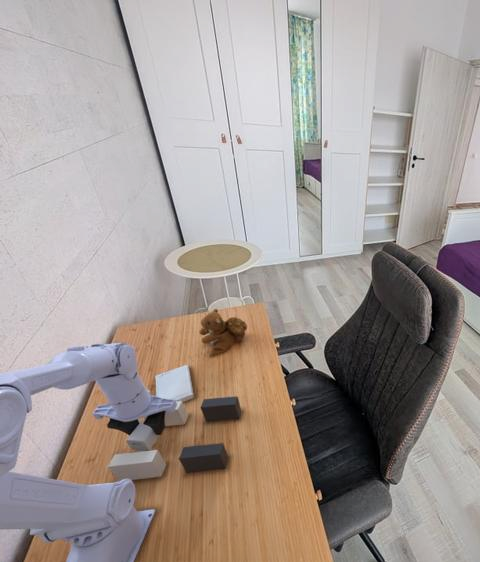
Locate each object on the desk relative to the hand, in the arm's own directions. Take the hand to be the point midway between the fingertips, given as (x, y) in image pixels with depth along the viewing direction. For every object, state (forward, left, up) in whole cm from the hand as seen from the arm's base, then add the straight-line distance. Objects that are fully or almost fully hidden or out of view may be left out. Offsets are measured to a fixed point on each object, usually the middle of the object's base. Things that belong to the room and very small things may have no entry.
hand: (149, 432), depth 63 cm
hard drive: (+16, +3, -6) cm, 18 cm away
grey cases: (0, -13, -5) cm, 14 cm away
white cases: (0, 0, -5) cm, 5 cm away
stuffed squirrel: (+34, -6, -6) cm, 35 cm away
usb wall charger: (0, 0, -2) cm, 2 cm away
